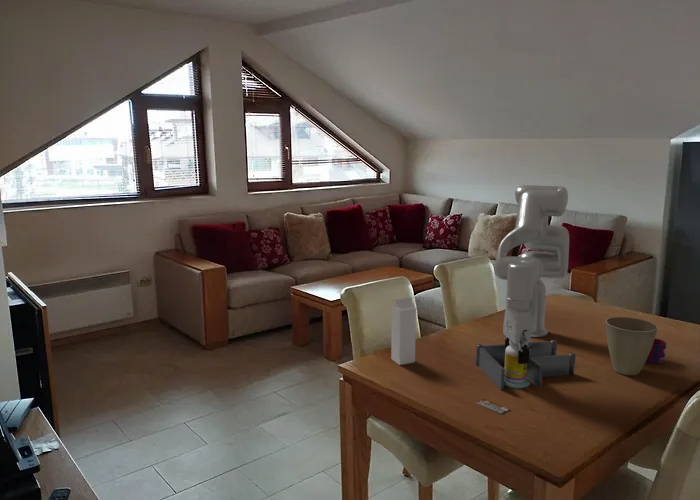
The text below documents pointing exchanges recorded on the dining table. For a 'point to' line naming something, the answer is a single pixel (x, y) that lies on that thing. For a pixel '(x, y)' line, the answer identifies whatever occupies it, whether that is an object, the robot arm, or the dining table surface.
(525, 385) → the pad
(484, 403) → the chocolate bar
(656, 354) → the mug
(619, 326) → the plant pot
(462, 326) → the dining table surface
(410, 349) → the milk
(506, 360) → the supplement bottle
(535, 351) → the gray wall barrier
